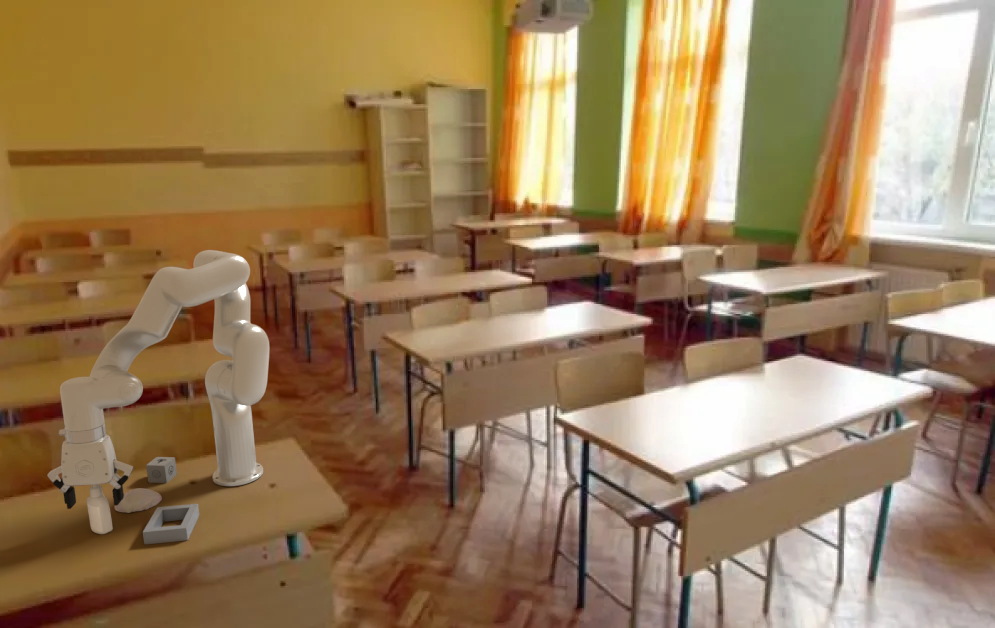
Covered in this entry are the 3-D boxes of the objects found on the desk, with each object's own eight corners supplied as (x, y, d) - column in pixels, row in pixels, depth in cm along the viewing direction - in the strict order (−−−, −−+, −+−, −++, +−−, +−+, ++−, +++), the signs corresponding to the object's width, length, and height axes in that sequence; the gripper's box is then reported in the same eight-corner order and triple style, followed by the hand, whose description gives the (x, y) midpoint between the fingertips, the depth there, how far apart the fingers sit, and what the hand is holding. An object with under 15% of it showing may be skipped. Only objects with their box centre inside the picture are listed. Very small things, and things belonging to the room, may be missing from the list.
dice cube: (177, 474, 186) (174, 457, 185) (166, 483, 181) (164, 465, 180) (159, 474, 186) (156, 456, 185) (148, 482, 181) (146, 465, 180)
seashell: (103, 504, 165) (122, 477, 173) (109, 522, 167) (127, 494, 176) (147, 502, 165) (163, 475, 174) (152, 520, 167) (168, 492, 176)
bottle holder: (158, 518, 164) (157, 507, 163) (199, 515, 165) (198, 503, 164) (144, 544, 153) (142, 532, 152) (187, 540, 155) (186, 528, 154)
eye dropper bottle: (91, 537, 156) (83, 488, 153) (91, 526, 161) (83, 478, 158) (113, 532, 158) (105, 484, 155) (112, 521, 163) (105, 474, 160)
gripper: (35, 442, 148) (45, 515, 152) (122, 437, 151) (130, 509, 155) (50, 429, 156) (60, 499, 159) (133, 424, 159) (141, 493, 162)
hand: (95, 504), depth 157 cm, fingers open, 9 cm apart
